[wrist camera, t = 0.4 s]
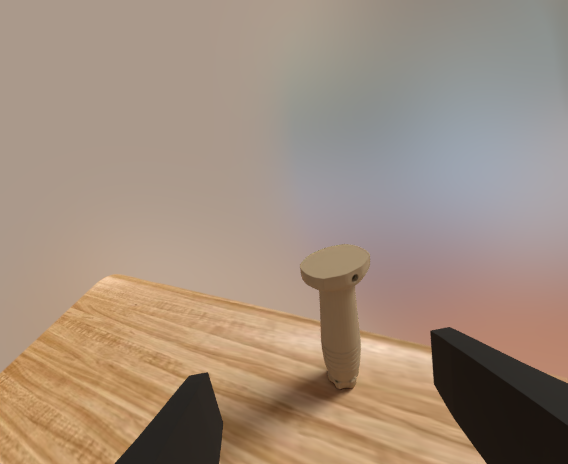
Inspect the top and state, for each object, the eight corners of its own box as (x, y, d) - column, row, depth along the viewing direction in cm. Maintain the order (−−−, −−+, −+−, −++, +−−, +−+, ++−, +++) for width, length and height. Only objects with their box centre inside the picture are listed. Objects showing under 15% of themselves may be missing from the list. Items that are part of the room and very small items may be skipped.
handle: (307, 379, 31) (290, 263, 25) (348, 350, 34) (342, 240, 28) (336, 413, 27) (324, 285, 21) (380, 377, 30) (381, 255, 24)
